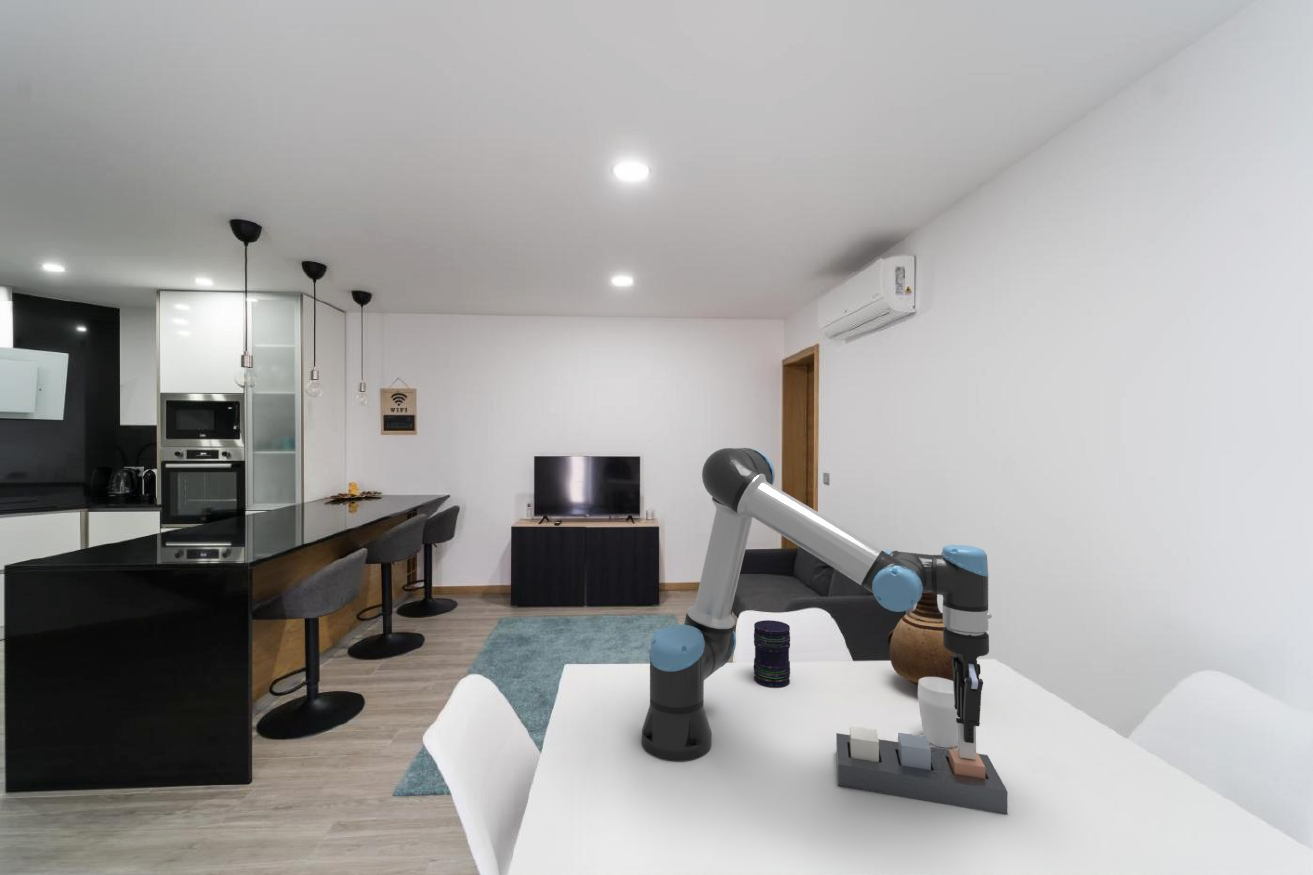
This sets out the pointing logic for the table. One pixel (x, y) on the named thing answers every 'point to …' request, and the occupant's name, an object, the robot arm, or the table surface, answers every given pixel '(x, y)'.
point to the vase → (921, 643)
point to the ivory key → (864, 744)
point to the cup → (938, 711)
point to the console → (920, 778)
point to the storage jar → (772, 654)
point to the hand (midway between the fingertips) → (967, 756)
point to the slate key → (914, 751)
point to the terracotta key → (966, 765)
